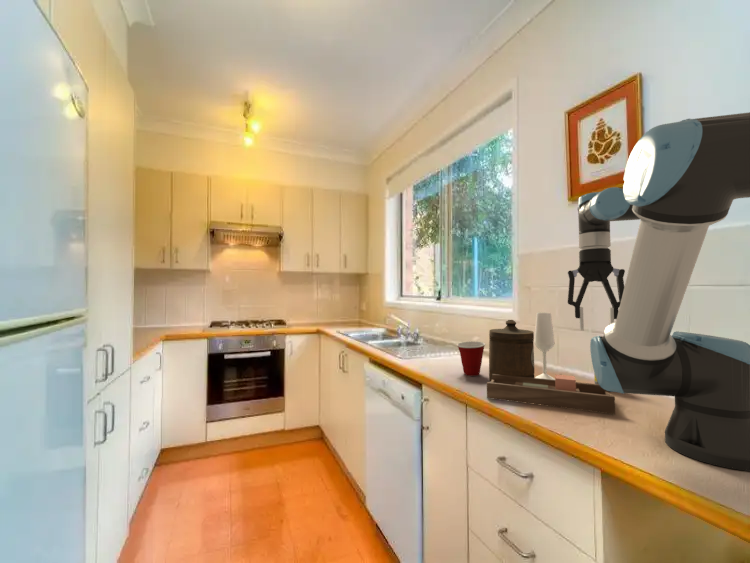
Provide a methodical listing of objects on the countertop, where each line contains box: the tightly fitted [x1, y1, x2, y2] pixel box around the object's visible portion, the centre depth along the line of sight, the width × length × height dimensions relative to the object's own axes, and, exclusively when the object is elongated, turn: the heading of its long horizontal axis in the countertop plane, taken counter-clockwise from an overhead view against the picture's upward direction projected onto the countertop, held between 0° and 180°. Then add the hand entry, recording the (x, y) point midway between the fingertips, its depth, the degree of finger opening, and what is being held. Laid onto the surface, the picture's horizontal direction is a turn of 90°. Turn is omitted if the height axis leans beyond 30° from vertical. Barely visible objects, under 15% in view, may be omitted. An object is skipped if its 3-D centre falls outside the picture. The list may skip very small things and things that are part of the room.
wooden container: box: [488, 319, 535, 382], centre depth 121 cm, size 15×15×22 cm
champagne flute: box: [533, 311, 555, 380], centre depth 126 cm, size 7×7×24 cm
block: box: [554, 374, 577, 392], centre depth 100 cm, size 5×5×4 cm
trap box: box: [486, 374, 616, 415], centre depth 102 cm, size 12×32×4 cm, turn 63°
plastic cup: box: [456, 340, 486, 377], centre depth 133 cm, size 11×11×12 cm
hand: (596, 330), depth 96 cm, fingers open, 6 cm apart
